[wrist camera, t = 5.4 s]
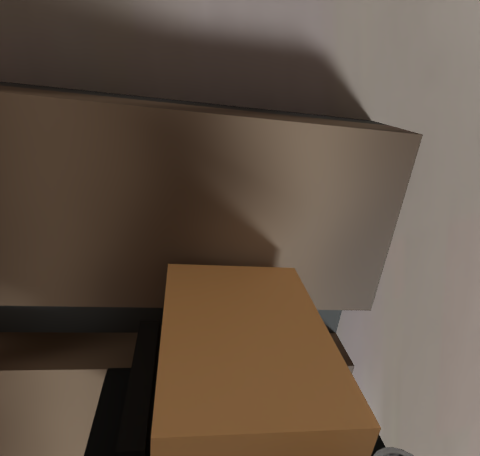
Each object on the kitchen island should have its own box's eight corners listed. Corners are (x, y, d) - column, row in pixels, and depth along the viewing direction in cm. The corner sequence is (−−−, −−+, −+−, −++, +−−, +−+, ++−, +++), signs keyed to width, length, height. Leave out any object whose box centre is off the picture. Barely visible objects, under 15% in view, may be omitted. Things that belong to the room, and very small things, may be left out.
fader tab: (278, 237, 12) (381, 428, 6) (256, 372, 15) (312, 618, 8) (171, 232, 12) (150, 438, 5) (165, 373, 14) (146, 640, 8)
